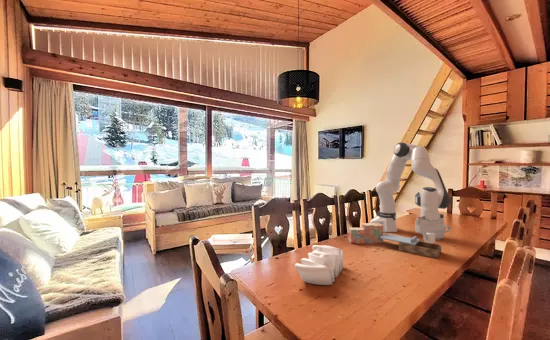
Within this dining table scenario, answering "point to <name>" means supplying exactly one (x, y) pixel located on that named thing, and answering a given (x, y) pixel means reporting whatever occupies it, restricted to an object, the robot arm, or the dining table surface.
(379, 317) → the dining table surface
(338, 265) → the wavy white extrusion
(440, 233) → the teacup
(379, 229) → the stack of blocks
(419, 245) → the box
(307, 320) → the dining table surface
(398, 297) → the dining table surface
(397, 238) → the lid
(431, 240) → the cube
